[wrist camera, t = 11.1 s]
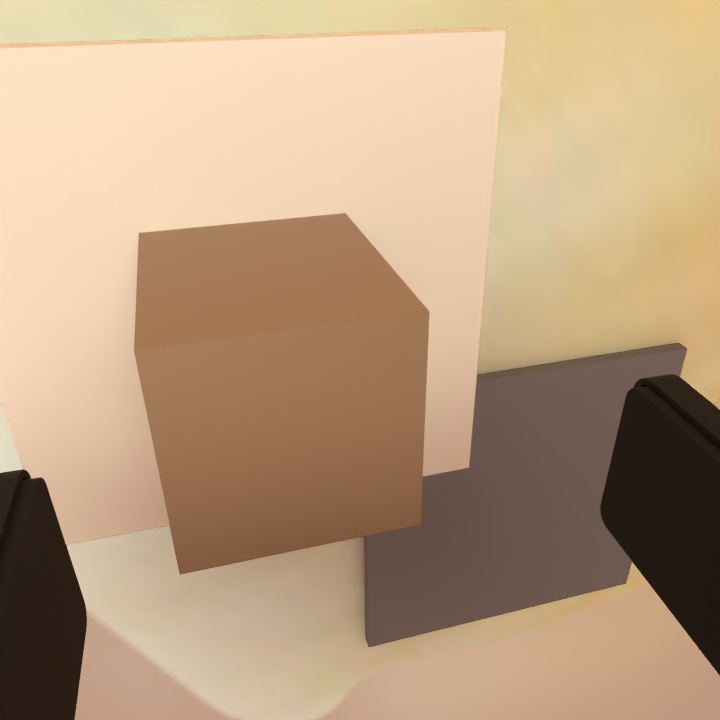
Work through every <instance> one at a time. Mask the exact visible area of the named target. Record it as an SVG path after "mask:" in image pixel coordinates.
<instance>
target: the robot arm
mask: <svg viewBox="0 0 720 720" xmlns="http://www.w3.org/2000/svg"><path fill="white" fill-rule="evenodd" d="M600 513H601V517H602V520H603V523H604V525H605V526H606V528H607V529H608V531H609V532H610V533H611V534H612V536H613V537H614V538H615V540H616V541H617V542H618V544H619V545H620V546H621V547H622V549H623V550H624V551H625V553H626V554H627V555H628V557H629V558H630V559H631V560H632V562H633V563H634V564H635V566H636V567H637V568H638V570H639V571H640V572H641V574H642V575H643V576H644V577H645V579H646V580H647V581H648V583H649V584H650V585H651V587H652V588H653V589H654V590H655V592H656V593H657V594H658V596H659V597H660V598H661V600H662V601H663V602H664V603H665V605H666V606H667V607H668V609H669V610H670V611H671V613H672V614H673V615H674V616H675V618H676V619H677V620H678V622H679V623H680V624H681V626H682V627H683V628H684V629H685V631H686V632H687V633H688V635H689V636H690V637H691V639H692V640H693V641H694V642H695V644H696V645H697V646H698V647H699V649H700V650H701V652H702V653H703V654H704V656H705V657H706V658H707V659H708V661H709V662H710V663H711V665H712V666H713V667H714V668H715V670H716V671H717V672H718V674H719V675H720V410H719V409H718V408H717V407H716V406H714V405H713V404H712V403H711V402H710V401H708V400H707V399H706V398H705V397H703V396H702V395H701V394H700V393H699V392H697V391H696V390H695V389H694V388H692V387H691V386H690V385H689V384H688V383H686V382H685V381H684V380H683V379H681V378H680V377H678V376H677V375H674V374H667V375H660V376H653V377H647V378H642V379H639V380H638V381H637V382H636V383H635V385H634V387H633V388H632V389H630V390H629V391H628V392H627V395H626V398H625V402H624V406H623V411H622V415H621V419H620V424H619V428H618V432H617V436H616V441H615V445H614V449H613V453H612V458H611V462H610V466H609V470H608V475H607V479H606V483H605V488H604V492H603V496H602V500H601V505H600ZM86 625H87V617H86V607H85V602H84V599H83V596H82V593H81V590H80V587H79V583H78V580H77V577H76V574H75V571H74V568H73V565H72V562H71V559H70V556H69V553H68V550H67V546H66V543H65V540H64V537H63V534H62V531H61V528H60V525H59V522H58V519H57V516H56V513H55V509H54V506H53V503H52V500H51V497H50V494H49V491H48V488H47V485H46V482H45V480H44V479H43V478H41V477H39V478H33V479H31V476H30V474H29V473H28V472H27V470H17V471H11V472H4V473H0V720H74V718H75V711H76V703H77V696H78V688H79V680H80V673H81V665H82V657H83V650H84V642H85V635H86Z"/></svg>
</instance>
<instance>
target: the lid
mask: <svg viewBox="0 0 720 720" xmlns="http://www.w3.org/2000/svg"><path fill="white" fill-rule="evenodd" d="M505 39H506V31H503V30H496V29H488V28H471V29H441V30H411V31H381V32H351V33H321V34H291V35H261V36H231V37H201V38H171V39H141V40H112V41H82V42H52V43H22V44H0V400H1V403H2V406H3V409H4V412H5V415H6V418H7V421H8V424H9V427H10V430H11V433H12V436H13V439H14V442H15V445H16V448H17V451H18V454H19V457H20V460H21V463H22V466H23V469H24V470H27V472H28V473H29V474H30V476H31V479H33V478H39V477H41V478H43V479H44V480H45V482H46V485H47V488H48V491H49V494H50V497H51V500H52V503H53V506H54V509H55V513H56V516H57V519H58V522H59V525H60V528H61V531H62V534H63V537H64V540H65V543H66V545H69V544H74V543H79V542H84V541H89V540H95V539H100V538H105V537H110V536H116V535H121V534H126V533H131V532H136V531H142V530H147V529H152V528H157V527H162V526H168V525H170V529H171V534H172V538H173V543H174V548H175V553H176V558H177V563H178V568H179V572H180V574H184V573H189V572H194V571H199V570H204V569H208V568H213V567H218V566H223V565H228V564H232V563H237V562H242V561H247V560H251V559H256V558H261V557H266V556H271V555H275V554H280V553H285V552H290V551H295V550H299V549H304V548H309V547H314V546H319V545H323V544H328V543H333V542H338V541H343V540H347V539H352V538H357V537H362V536H366V535H371V534H376V533H381V532H386V531H390V530H395V529H400V528H405V527H410V526H414V525H419V524H421V502H422V479H423V476H428V475H433V474H438V473H444V472H449V471H454V470H459V469H465V468H469V462H470V450H471V438H472V426H473V415H474V403H475V391H476V379H477V368H478V356H479V344H480V332H481V321H482V309H483V297H484V285H485V274H486V262H487V250H488V239H489V227H490V215H491V203H492V192H493V180H494V168H495V156H496V145H497V133H498V121H499V109H500V98H501V86H502V74H503V62H504V51H505Z"/></svg>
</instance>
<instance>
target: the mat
mask: <svg viewBox="0 0 720 720" xmlns="http://www.w3.org/2000/svg"><path fill="white" fill-rule="evenodd" d="M686 351H687V348H686V347H684V346H683V345H681V344H680V343H675V344H668V345H662V346H656V347H650V348H643V349H637V350H631V351H624V352H618V353H612V354H606V355H599V356H593V357H587V358H580V359H574V360H568V361H562V362H555V363H549V364H543V365H536V366H530V367H524V368H518V369H511V370H505V371H499V372H492V373H486V374H480V375H477V379H476V391H475V403H474V415H473V426H472V438H471V450H470V462H469V468H465V469H459V470H454V471H449V472H444V473H438V474H433V475H428V476H423V479H422V502H421V524H419V525H414V526H410V527H405V528H400V529H395V530H390V531H386V532H381V533H376V534H371V535H366V536H364V542H365V615H366V640H367V643H368V646H369V647H372V646H376V645H380V644H384V643H388V642H392V641H396V640H400V639H404V638H408V637H412V636H416V635H420V634H424V633H428V632H432V631H436V630H440V629H444V628H448V627H452V626H456V625H460V624H464V623H468V622H472V621H476V620H480V619H485V618H489V617H493V616H497V615H501V614H505V613H509V612H513V611H517V610H521V609H525V608H529V607H533V606H537V605H541V604H545V603H549V602H553V601H557V600H561V599H565V598H569V597H573V596H577V595H581V594H585V593H589V592H593V591H597V590H601V589H606V588H610V587H614V586H618V585H622V584H626V582H627V578H628V574H629V570H630V566H631V562H632V560H631V559H630V558H629V557H628V555H627V554H626V553H625V551H624V550H623V549H622V547H621V546H620V545H619V544H618V542H617V541H616V540H615V538H614V537H613V536H612V534H611V533H610V532H609V531H608V529H607V528H606V526H605V525H604V523H603V520H602V517H601V513H600V505H601V500H602V496H603V492H604V488H605V483H606V479H607V475H608V470H609V466H610V462H611V458H612V453H613V449H614V445H615V441H616V436H617V432H618V428H619V424H620V419H621V415H622V411H623V406H624V402H625V398H626V395H627V392H628V391H629V390H630V389H632V388H633V387H634V385H635V383H636V382H637V381H638V380H639V379H642V378H647V377H653V376H660V375H667V374H674V375H677V376H678V377H680V374H681V370H682V366H683V362H684V359H685V355H686Z"/></svg>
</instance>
